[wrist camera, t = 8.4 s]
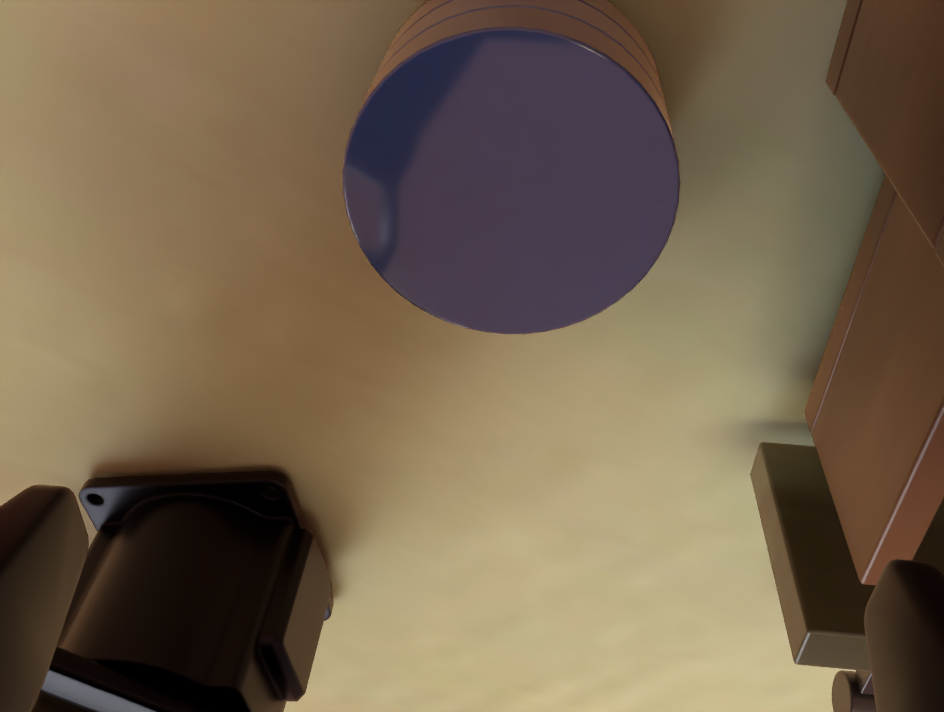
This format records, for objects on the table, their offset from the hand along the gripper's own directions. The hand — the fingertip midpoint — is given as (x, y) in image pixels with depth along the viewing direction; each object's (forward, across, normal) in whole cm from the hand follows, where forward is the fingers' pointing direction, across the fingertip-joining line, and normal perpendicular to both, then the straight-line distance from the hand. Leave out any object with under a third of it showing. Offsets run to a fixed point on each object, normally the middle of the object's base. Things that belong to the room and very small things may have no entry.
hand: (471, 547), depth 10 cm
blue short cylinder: (+12, 0, 0) cm, 12 cm away
